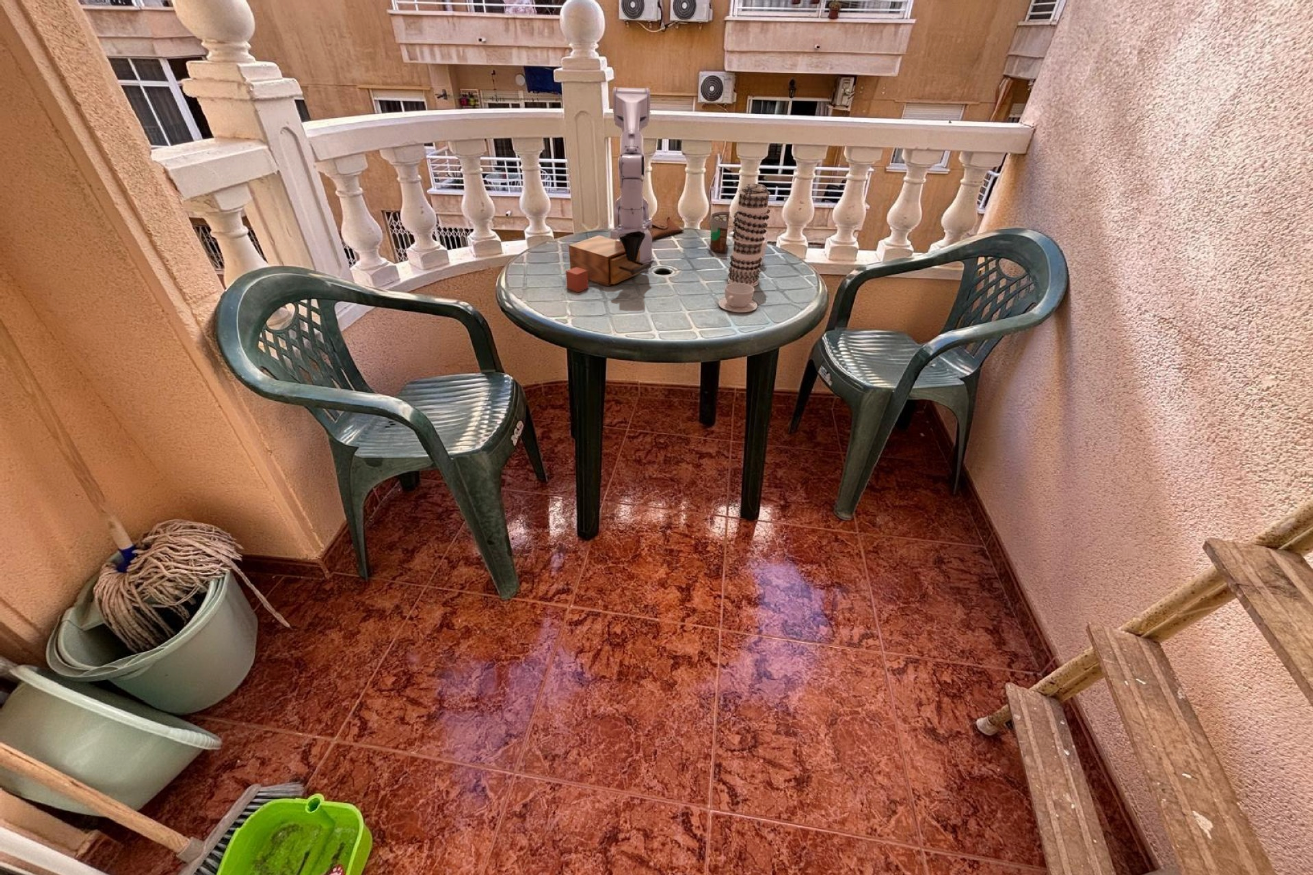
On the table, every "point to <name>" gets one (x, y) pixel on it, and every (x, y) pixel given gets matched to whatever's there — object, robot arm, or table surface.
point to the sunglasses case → (663, 228)
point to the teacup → (738, 298)
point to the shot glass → (763, 250)
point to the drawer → (625, 267)
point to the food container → (719, 231)
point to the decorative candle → (749, 234)
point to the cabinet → (595, 257)
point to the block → (577, 279)
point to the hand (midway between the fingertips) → (631, 260)
